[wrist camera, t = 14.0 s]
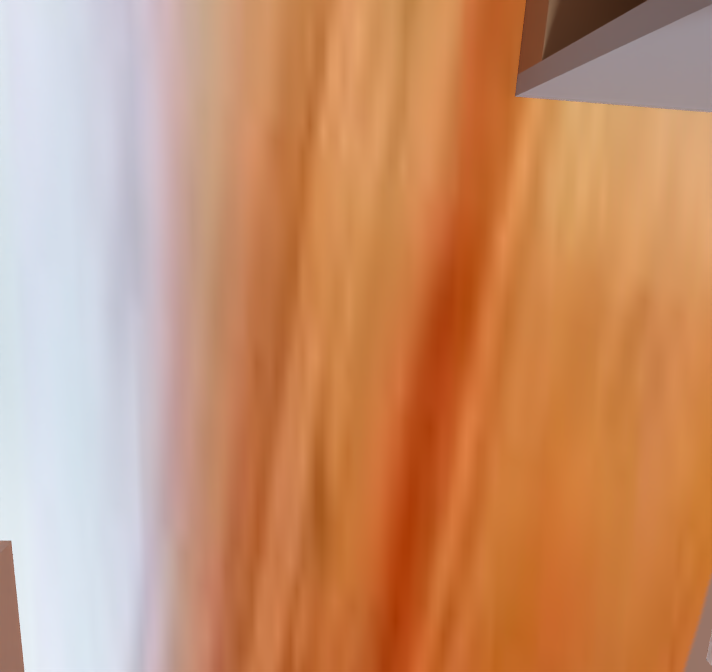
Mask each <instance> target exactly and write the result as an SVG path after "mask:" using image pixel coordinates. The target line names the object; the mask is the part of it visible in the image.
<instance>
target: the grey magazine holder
mask: <svg viewBox="0 0 712 672" xmlns="http://www.w3.org/2000/svg"><path fill="white" fill-rule="evenodd" d="M515 96H517V97H529V98H542V99H554V100H566V101H579V102H591V103H603V104H615V105H628V106H640V107H652V108H665V109H677V110H689V111H702V112H712V0H526V9H525V17H524V26H523V34H522V43H521V51H520V60H519V68H518V77H517V85H516V94H515Z"/></svg>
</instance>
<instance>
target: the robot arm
mask: <svg viewBox="0 0 712 672" xmlns="http://www.w3.org/2000/svg"><path fill="white" fill-rule="evenodd" d="M706 660H707V661H708V662H709V663H710V665H711V666H712V633H711V639H710V643H709V648H708V654H707V658H706ZM0 672H24V663H23V653H22V643H21V633H20V623H19V614H18V604H17V594H16V584H15V574H14V564H13V554H12V544H11V541H0Z"/></svg>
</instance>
